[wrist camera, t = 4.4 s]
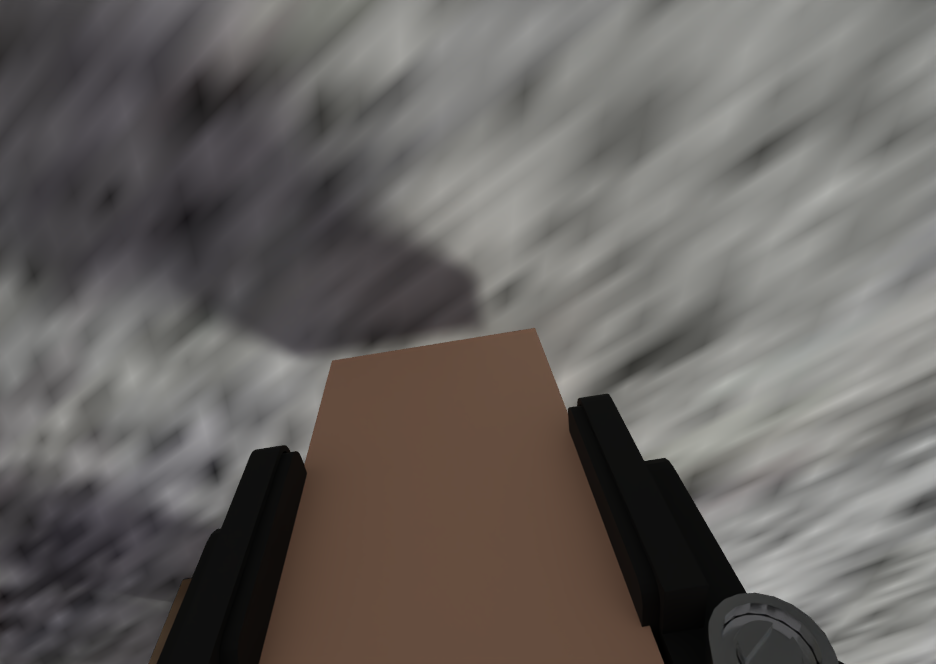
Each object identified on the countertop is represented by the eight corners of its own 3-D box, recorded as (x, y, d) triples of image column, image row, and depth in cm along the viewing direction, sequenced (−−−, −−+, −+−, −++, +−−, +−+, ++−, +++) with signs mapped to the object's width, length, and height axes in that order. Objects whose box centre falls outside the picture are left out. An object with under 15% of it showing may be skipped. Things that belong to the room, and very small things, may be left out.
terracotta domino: (539, 382, 14) (733, 948, 5) (348, 412, 14) (233, 1028, 5) (535, 327, 13) (751, 890, 5) (332, 360, 13) (166, 982, 5)
